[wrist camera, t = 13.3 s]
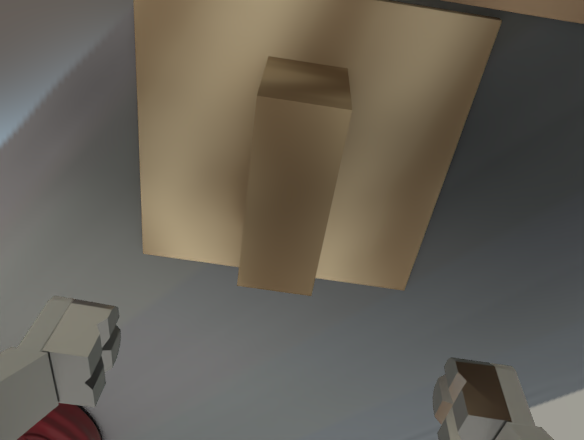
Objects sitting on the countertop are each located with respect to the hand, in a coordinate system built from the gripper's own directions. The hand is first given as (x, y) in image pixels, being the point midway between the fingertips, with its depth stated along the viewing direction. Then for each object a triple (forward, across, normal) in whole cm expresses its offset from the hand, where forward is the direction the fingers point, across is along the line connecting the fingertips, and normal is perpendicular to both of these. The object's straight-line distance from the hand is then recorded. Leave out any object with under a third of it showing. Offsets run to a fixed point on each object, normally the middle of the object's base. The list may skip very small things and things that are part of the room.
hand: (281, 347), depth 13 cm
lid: (+12, 0, 0) cm, 12 cm away
